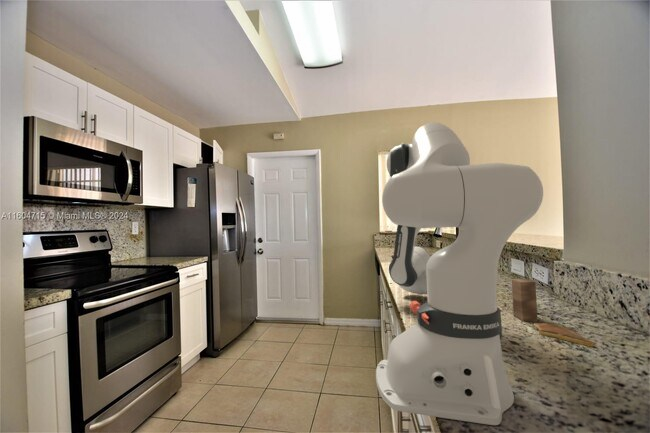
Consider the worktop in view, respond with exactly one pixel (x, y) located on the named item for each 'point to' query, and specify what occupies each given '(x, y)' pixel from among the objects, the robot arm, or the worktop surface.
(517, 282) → the walnut block
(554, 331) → the shard
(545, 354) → the worktop surface
